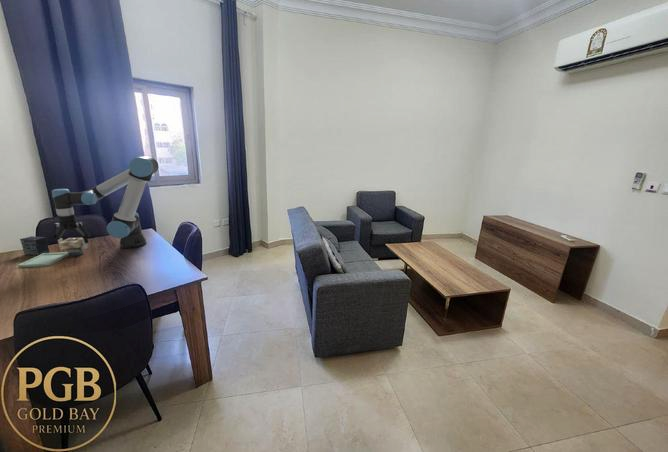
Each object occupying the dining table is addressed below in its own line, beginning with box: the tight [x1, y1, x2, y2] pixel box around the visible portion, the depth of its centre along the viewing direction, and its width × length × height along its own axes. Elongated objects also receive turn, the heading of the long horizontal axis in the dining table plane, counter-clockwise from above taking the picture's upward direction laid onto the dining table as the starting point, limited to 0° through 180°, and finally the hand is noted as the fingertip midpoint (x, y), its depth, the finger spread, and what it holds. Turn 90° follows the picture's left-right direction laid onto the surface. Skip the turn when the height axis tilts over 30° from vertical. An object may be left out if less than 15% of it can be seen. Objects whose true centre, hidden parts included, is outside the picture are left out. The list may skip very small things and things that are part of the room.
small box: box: [19, 235, 50, 256], centre depth 167 cm, size 11×6×10 cm, turn 84°
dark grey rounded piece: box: [66, 237, 85, 258], centre depth 167 cm, size 7×7×11 cm
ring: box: [58, 237, 84, 250], centre depth 166 cm, size 9×9×4 cm
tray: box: [17, 251, 69, 268], centre depth 159 cm, size 14×18×2 cm
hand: (74, 248), depth 167 cm, fingers open, 12 cm apart
